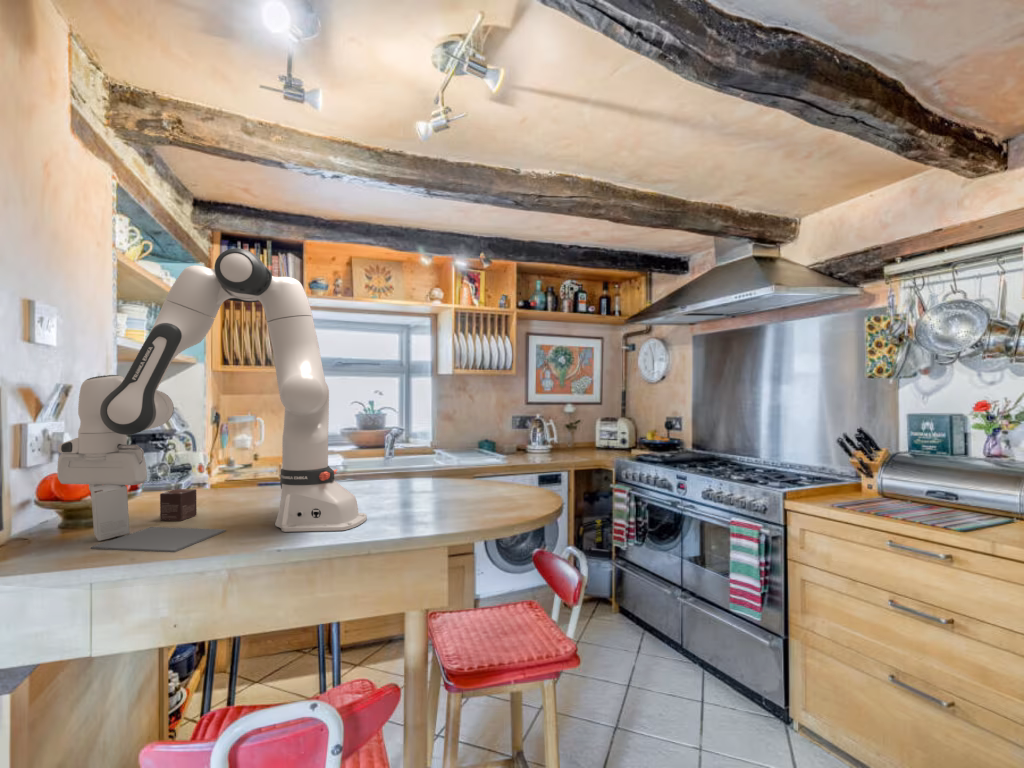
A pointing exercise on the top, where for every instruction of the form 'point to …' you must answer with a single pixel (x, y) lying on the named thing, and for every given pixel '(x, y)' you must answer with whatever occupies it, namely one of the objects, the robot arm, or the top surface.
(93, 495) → the skincare box
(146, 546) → the mat
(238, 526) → the top surface
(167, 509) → the box
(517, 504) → the top surface
